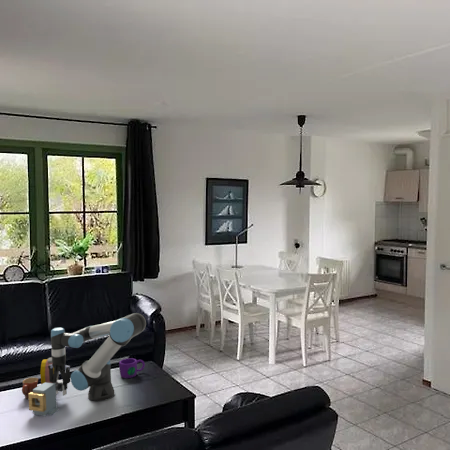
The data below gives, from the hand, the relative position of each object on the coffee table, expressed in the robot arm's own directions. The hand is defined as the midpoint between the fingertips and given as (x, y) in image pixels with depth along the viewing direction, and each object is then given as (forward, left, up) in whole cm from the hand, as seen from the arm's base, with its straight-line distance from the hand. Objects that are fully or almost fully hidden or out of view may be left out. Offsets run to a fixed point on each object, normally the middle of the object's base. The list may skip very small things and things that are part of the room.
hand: (60, 394), depth 276 cm
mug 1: (+20, +2, -4) cm, 20 cm away
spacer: (0, +20, 0) cm, 20 cm away
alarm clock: (+18, -15, -4) cm, 24 cm away
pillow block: (0, +14, -4) cm, 14 cm away
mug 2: (-23, -45, -4) cm, 51 cm away
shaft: (0, +9, +3) cm, 9 cm away
